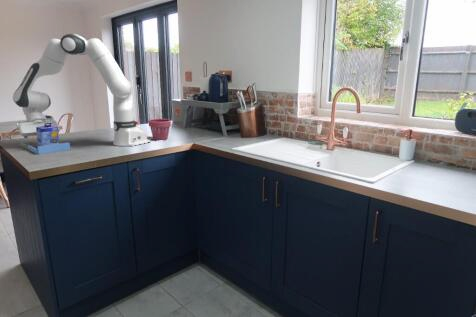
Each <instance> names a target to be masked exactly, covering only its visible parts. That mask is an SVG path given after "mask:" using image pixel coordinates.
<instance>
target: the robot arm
mask: <svg viewBox="0 0 476 317" xmlns="http://www.w3.org/2000/svg"><path fill="white" fill-rule="evenodd" d="M70 55H72V56H83V55H87V56H88V57H89V58H90V60H91V62H92V63H93V64H94V66H95V68H96V69H97V71H98V72H99V74H100V75H101V77H102V79H103V81H104V82H105V84H106V86H107V88H108V89H109V91H110V92H111V94H112V96H113V100H112V102H113V106H112V107H113V130H114V136H113V137H114V138H113V143H112V144H113V145H112V146H116V147H117V146H118V147H119V146H120V147H136V146H140V145H139V144H141V145H145V144H149V143H148V142H150V143H152V142H151V139H148V137H147V136H148V135H147V133H146V132H145V131H144V130H143V129H141V128H140V127H138V126H137V125H140V121H138V120H134V108H133V107H134V106H133V105H134V104H133V96H134V95H133V84H132V83H131V81H129V79H127V78H126V76H125V75H124V73H123V71H122V70H121V68H120V66H119V64H118V62H117V60H115V58H114V56H113V55H112V54H111V52H110V50H109V49H108V48H107V46H106V45H105V44H104V43H103V42H102V40H100V38H97V37H94V38H90V39H87V38H86V37H85V36H83V35H80V34H76V33H67V34H64V35H63V36H62V37H61V39H59V38H51V39H50V40H49V41H48V43H47V45H46V46H45V48H44V51H43V52H42V55H41V57H40V59H38V61H36V62H34V63H33V64H31V65H30V67H29V69H28V70H27V72H26V73H25V75H24V78H23V79H22V81H21V83H20V84H19V86H18V87H17V89H16V90H15V91H14V93H13V96H12V101H13V102H14V103H15V104H16V106H18V107H20V108H22V112H23V114H24V116H25V120H26V121H19V122H17V123H16V127H17V129H18V131H19V135H20V136H21V137H23V138H24V137H33V136H36V137H37V131H36V127H41V126H44V125H45V123H51V125H54V126H57V127H58V134H60V133H59V132H60V131H61V127H60V125H59V123H58V122H57V121H56V120H54V116H53V115H47V114H44V113H43V112H45V111H46V110H48V109H49V108H50V106H51V104H52V103H51V101H52V100H51V98H50V95H49V94H48V93H46V92H40V91H34V90H32V88H33V87H34V84H35V82H36V81H37V79H38V78H41V77H44V76H53V75H57V74H59V73H60V72H61V71H62V70H63V67H64V65H65V62H66V60H67V58H68V56H70ZM47 125H50V124H47ZM144 143H145V144H144ZM135 145H136V146H135Z"/></svg>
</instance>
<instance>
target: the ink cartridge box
mask: <svg viewBox="0 0 476 317" xmlns="http://www.w3.org/2000/svg"><path fill="white" fill-rule="evenodd" d="M47 124H50V125H47ZM36 131H37V136H36V139H37V147H38V146H46V145H54V144H59V143H60V142H59V139H60V137H59V133H58V127H57V126H54V125H51V123H45V125H44V126H41V127H36Z"/></svg>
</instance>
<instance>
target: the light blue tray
mask: <svg viewBox="0 0 476 317" xmlns="http://www.w3.org/2000/svg"><path fill="white" fill-rule="evenodd" d="M19 145H20V147H22V148H24V149H26V150H29V151H30V152H32V153H34V154H36V155H43V154H44V155H45V154H50V153H57V152H58V153H59V152H63V151H64V152H65V151H70V150H71V143H70V142H62V143H61V142H59V144H54V145H46V146H38V145H37V148H36V147H34V146H32V145H29V144H25V143H24V142H21V141H20V142H19Z"/></svg>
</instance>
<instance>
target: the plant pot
mask: <svg viewBox="0 0 476 317" xmlns="http://www.w3.org/2000/svg"><path fill="white" fill-rule="evenodd" d="M148 126H149V128H150V132H151V135H152V139H153V140H154V141H157V140H163V141H166V140H165V139H167V140H168V139H169V138H168V137H169V133H170V128H171V126H172V120H171V119H168V118H153V119H149V120H148Z"/></svg>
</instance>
